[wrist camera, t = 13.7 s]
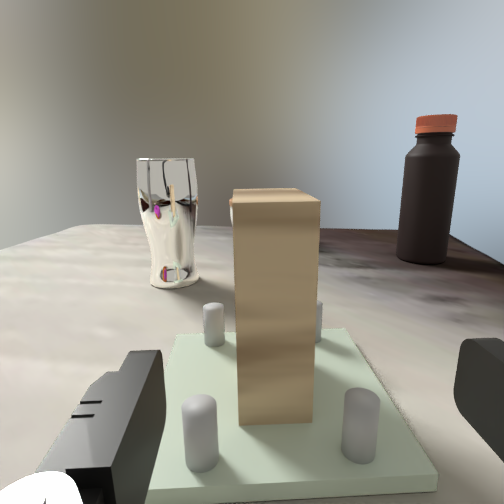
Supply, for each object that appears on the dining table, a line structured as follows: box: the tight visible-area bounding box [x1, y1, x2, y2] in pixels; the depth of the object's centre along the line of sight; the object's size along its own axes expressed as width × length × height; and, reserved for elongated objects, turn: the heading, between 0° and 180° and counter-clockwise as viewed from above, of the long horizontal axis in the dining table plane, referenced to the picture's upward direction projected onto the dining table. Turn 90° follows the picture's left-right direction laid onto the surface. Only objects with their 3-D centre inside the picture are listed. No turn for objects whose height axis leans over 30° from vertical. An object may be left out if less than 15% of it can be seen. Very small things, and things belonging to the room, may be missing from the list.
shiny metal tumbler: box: [136, 158, 199, 289], centre depth 42 cm, size 7×7×15 cm
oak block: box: [232, 188, 321, 426], centre depth 21 cm, size 7×4×12 cm, turn 2°
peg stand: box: [145, 300, 439, 504], centre depth 22 cm, size 14×14×4 cm
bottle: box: [396, 114, 460, 264], centre depth 50 cm, size 7×7×20 cm
